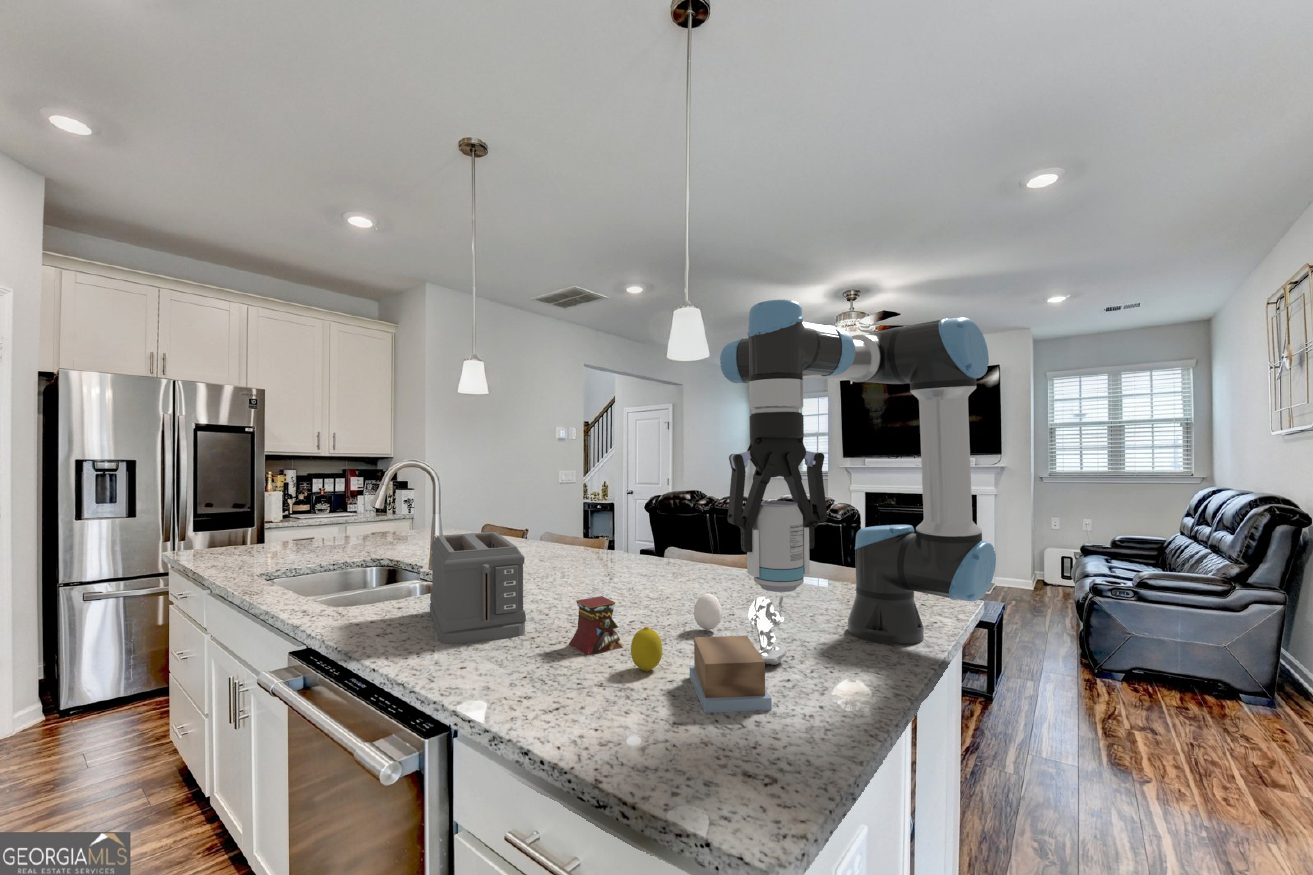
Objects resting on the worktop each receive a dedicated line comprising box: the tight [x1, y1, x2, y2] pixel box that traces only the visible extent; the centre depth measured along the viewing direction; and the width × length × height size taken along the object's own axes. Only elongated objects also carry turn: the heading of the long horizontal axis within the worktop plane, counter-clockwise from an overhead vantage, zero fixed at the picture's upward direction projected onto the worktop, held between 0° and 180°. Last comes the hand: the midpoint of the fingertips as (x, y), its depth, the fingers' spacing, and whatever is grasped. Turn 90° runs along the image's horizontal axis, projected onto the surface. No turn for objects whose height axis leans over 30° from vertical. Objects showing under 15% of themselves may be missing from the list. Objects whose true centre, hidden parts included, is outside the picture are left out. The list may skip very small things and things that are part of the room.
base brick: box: [689, 664, 773, 714], centre depth 93 cm, size 10×14×3 cm
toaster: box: [429, 531, 527, 646], centre depth 131 cm, size 17×31×19 cm, turn 26°
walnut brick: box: [693, 635, 766, 698], centre depth 93 cm, size 9×12×5 cm
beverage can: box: [753, 500, 805, 593], centre depth 83 cm, size 7×7×12 cm
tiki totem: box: [568, 595, 624, 656], centre depth 116 cm, size 9×9×9 cm
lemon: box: [630, 626, 663, 672], centre depth 103 cm, size 6×6×8 cm
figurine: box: [748, 595, 787, 666], centre depth 107 cm, size 9×6×12 cm
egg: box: [693, 593, 723, 631], centre depth 127 cm, size 6×6×8 cm
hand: (778, 573), depth 83 cm, fingers closed on beverage can, 7 cm apart
